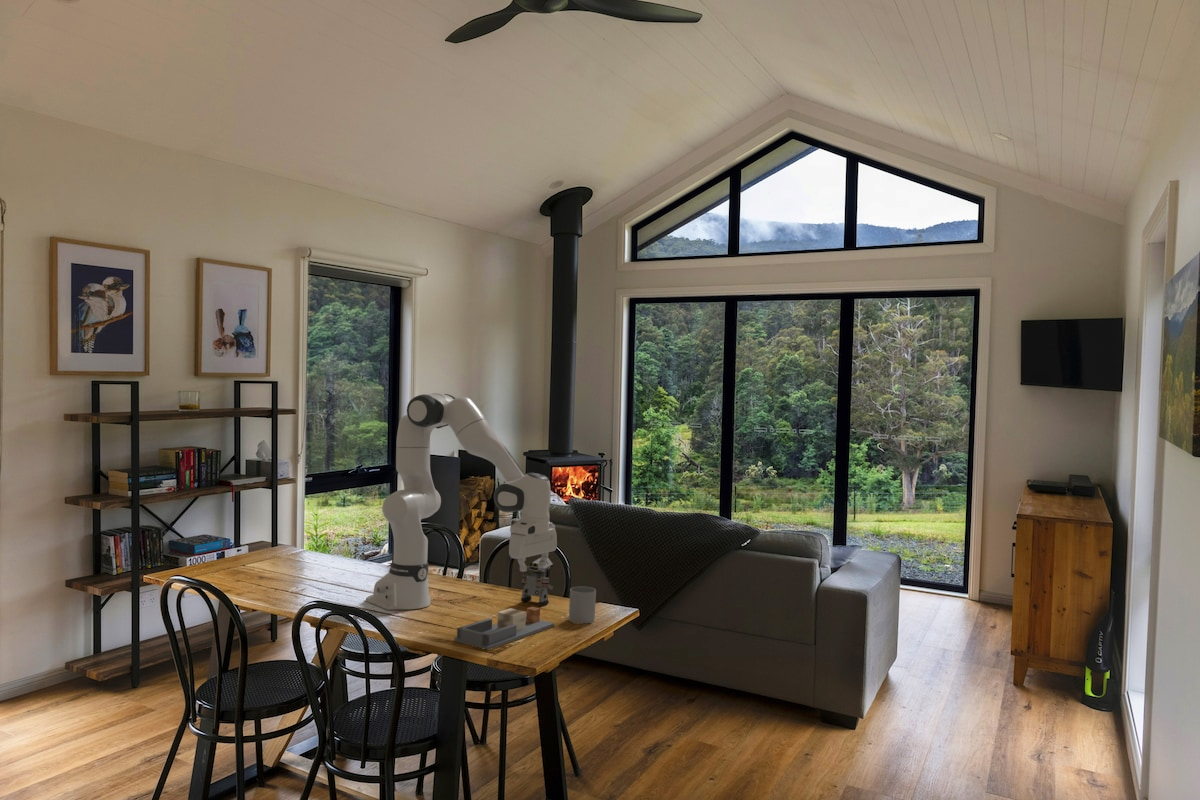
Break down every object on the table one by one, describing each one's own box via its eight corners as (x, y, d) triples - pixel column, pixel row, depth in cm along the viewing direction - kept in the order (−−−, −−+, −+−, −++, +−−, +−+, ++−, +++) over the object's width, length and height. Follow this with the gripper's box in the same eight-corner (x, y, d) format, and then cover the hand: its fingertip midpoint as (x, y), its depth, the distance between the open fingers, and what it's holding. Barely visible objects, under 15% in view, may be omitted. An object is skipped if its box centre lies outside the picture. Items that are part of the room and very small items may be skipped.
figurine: (558, 601, 286) (560, 558, 286) (538, 607, 277) (539, 563, 276) (538, 596, 291) (540, 554, 291) (517, 602, 282) (519, 559, 282)
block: (497, 628, 248) (497, 612, 247) (528, 618, 260) (529, 602, 260) (512, 632, 244) (513, 616, 244) (543, 621, 257) (544, 606, 257)
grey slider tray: (454, 641, 237) (454, 627, 237) (521, 618, 263) (522, 606, 263) (488, 650, 230) (488, 636, 230) (554, 626, 256) (554, 613, 256)
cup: (600, 620, 264) (601, 590, 264) (582, 625, 258) (583, 594, 258) (580, 615, 270) (582, 585, 270) (563, 619, 264) (564, 588, 264)
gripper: (547, 520, 268) (544, 562, 268) (506, 527, 251) (504, 572, 251) (562, 522, 264) (560, 565, 264) (522, 530, 247) (520, 575, 247)
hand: (532, 568), depth 257 cm, fingers open, 8 cm apart
